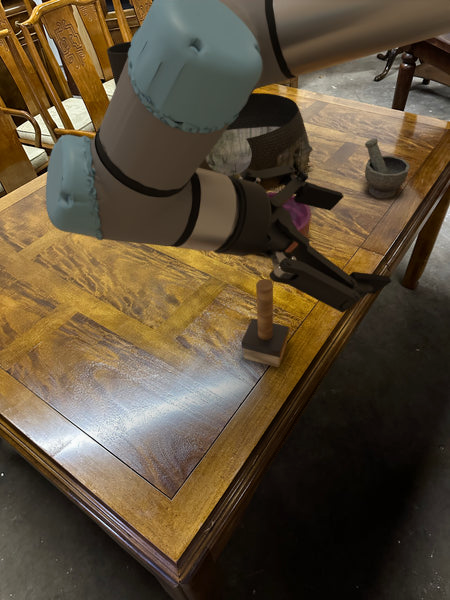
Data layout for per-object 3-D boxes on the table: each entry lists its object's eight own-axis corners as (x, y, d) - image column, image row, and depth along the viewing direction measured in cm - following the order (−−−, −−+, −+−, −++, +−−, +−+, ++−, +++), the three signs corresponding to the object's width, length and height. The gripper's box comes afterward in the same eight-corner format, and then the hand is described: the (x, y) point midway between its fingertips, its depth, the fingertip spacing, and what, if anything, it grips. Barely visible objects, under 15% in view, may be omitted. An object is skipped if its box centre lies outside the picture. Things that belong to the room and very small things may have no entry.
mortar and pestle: (410, 189, 102) (423, 141, 93) (391, 206, 97) (403, 158, 89) (368, 175, 108) (376, 129, 99) (349, 191, 103) (356, 144, 95)
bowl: (322, 225, 94) (324, 204, 90) (286, 267, 85) (286, 245, 81) (259, 206, 102) (259, 185, 98) (220, 242, 93) (218, 222, 89)
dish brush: (288, 344, 71) (291, 276, 60) (279, 369, 68) (281, 302, 57) (252, 335, 73) (249, 268, 62) (242, 359, 70) (237, 292, 59)
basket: (287, 212, 99) (289, 146, 88) (161, 189, 111) (148, 128, 100) (320, 157, 117) (325, 96, 105) (208, 142, 129) (202, 86, 117)
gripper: (174, 156, 49) (302, 191, 61) (235, 345, 38) (379, 342, 50) (203, 102, 44) (337, 151, 56) (285, 301, 32) (432, 309, 45)
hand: (357, 241), depth 53 cm, fingers open, 13 cm apart
